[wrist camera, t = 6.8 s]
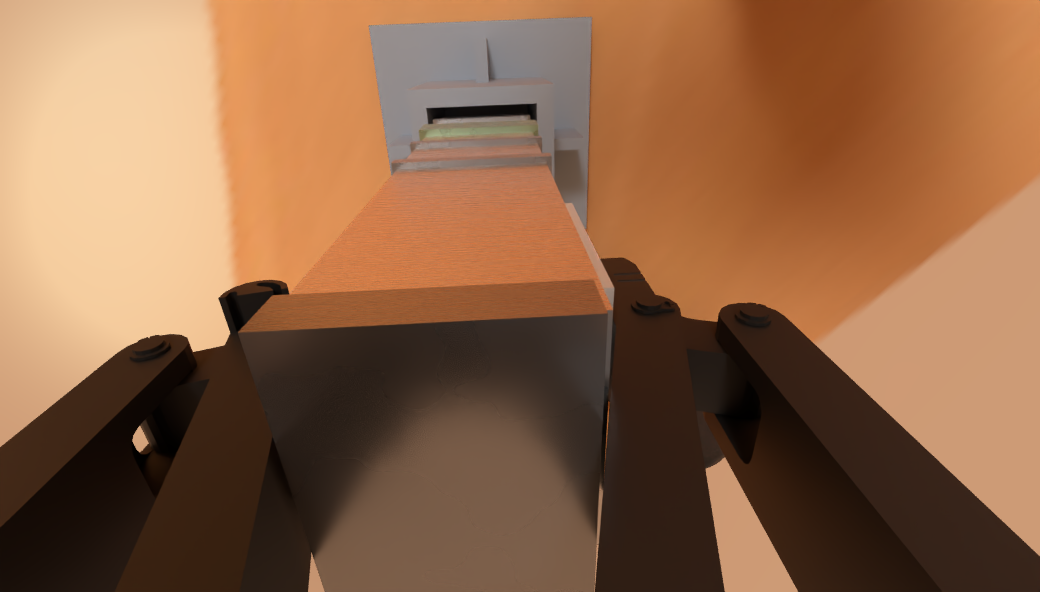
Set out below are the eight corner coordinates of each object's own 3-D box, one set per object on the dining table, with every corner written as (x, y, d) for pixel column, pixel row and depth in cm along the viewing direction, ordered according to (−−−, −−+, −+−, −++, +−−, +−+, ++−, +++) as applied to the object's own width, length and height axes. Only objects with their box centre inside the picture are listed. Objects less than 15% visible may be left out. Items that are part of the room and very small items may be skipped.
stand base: (373, 26, 36) (324, 15, 26) (588, 18, 37) (623, 4, 26) (403, 232, 43) (374, 287, 33) (583, 223, 44) (610, 275, 34)
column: (436, 108, 30) (186, 335, 6) (528, 104, 30) (657, 310, 6) (446, 204, 33) (303, 635, 8) (530, 200, 33) (627, 614, 9)
